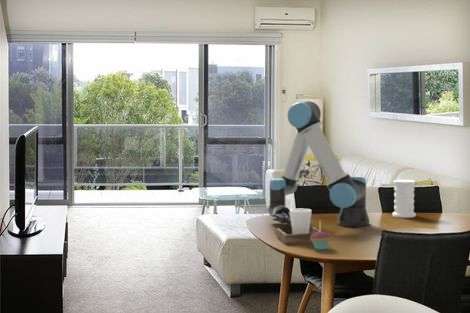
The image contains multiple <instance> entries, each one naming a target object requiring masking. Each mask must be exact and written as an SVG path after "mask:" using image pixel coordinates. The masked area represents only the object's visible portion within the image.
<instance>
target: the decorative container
mask: <svg viewBox="0 0 470 313" xmlns="http://www.w3.org/2000/svg"><path fill="white" fill-rule="evenodd" d="M415 184H416V180H413V179H394V180H393V185H394V187H393V190H394V193H393V196H394V200H393V203H394V205H393V209H394V211H393V212H392V217H395V218H403V219H405V218H406V219H408V218H409V219H410V218H415V217H416V216H417V214H416V212H415V211H414V210H415V205H414V203H415V199H414V198H415V187H414V186H415Z"/></svg>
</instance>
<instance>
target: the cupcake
mask: <svg viewBox="0 0 470 313" xmlns="http://www.w3.org/2000/svg"><path fill="white" fill-rule="evenodd" d="M318 228H319V229H318V230H319V232H315V233H313V234H312V235H311V238H310V239H311V241H312V242H313V243H312V245H313V247H314V249H315V250H321V251H322V250H323V251H324V250H327V248H328V244H329V242H330V241H331V240H332V236H331V235H330V233H328V232H327V231H326V232H325V231H322V222H321V220H318Z"/></svg>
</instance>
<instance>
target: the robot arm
mask: <svg viewBox="0 0 470 313" xmlns="http://www.w3.org/2000/svg"><path fill="white" fill-rule="evenodd" d="M288 108H289V109H288V111H287V114H286V115H287V119H288V120H287V121H288V123H289V124H290V125H291V126H293V127H294V128H295V129H296V135H295V137H294V140H293V143H292V147H291V150H290V152H289V154H288V155H289V156H288V159H287V162H286V165H285V168H284V171H283V174H282V176H281V177H282V178H280V177H276V178H270V180H269V205H268V210H267V211H268V214H269V215H270V216H271V218H272V221H275V222H279V223H280V224H286V225H287V226H290V225H291V218H290V210H291V209H289V208H288V207H287V206H286V196H288V195H292V194H294V193H295V192H296V191H297V189H298V184H297V181H298V178H299V175H300V173H301V170H302V166H303V164H304V161H305V158H306V155H307V152H308V149H309V148H310V150H311V152H312V154H313V156H314V158H315V160H316V161H317V163H318V165H319V167H320V169H321V170H322V171H321V172H322V173H323V175H324V176H325V178H326V180H327V182H326V187H327V189H328V191H329V200H330V201H331V203H332V204H333V205H334V206H336V207H338V208H340V211H339V214H338V218H337V225H339V226H342V227H343V226H344V227H357V228H358V227H366V226H369V225H370V217H369V214H368V211H367V208H366V207H367V205H366V204H367V203H366V202H367V181H366V178H365V176H364V177H363V176H361V177H360V176H351V175H350V173H347V172H345V171H344V169H343V168H342V165H341V164H340V162H339V160H338V158H337V156H336V155H335V152H334V151H333V149H332V147H331V145H330V142H329V141H328V139H327V138H326V136H325V134H324V132H323V130H322V129H321V125H322V122H321V120H320V119H321V117H322V116H321V115H322V113H321V112H322V111H321V109H320V107H319V105H318V104H316V103H315V102H314V101H310V100H309V101H298V102H295V103H293V104H292V105H291V106H290V107H288Z"/></svg>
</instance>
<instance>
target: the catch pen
mask: <svg viewBox="0 0 470 313" xmlns="http://www.w3.org/2000/svg"><path fill="white" fill-rule="evenodd" d="M310 228H311V232H310V233H309V234H293V233H292V234H287V233H286V232H285V231H283V230H282V229H280V228H279V227H278V228H276V238H277V239H278V240H280V241H281V243H282V244H284V245H303V244H307V245H308V244H313V242H312V241H311V239H310V238H311V235H312V234H313V233H315V232H319V229H318V228H316V227H315V226H310Z"/></svg>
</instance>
